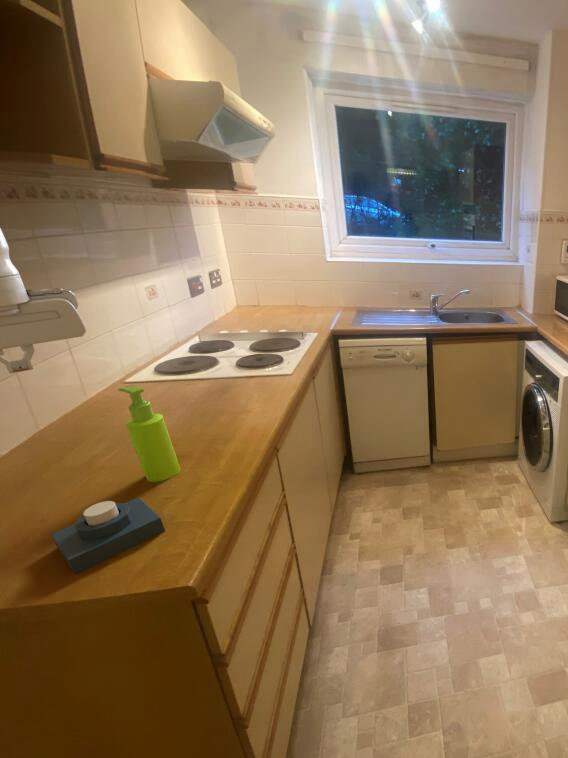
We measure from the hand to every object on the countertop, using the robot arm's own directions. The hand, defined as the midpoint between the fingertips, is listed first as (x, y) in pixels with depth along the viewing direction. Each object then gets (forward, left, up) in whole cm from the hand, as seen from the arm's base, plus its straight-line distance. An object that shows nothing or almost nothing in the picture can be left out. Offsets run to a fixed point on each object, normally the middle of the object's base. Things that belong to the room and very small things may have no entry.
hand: (21, 370), depth 78 cm
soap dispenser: (+12, -7, -26) cm, 30 cm away
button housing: (0, -24, -26) cm, 35 cm away
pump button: (0, -24, -21) cm, 32 cm away
